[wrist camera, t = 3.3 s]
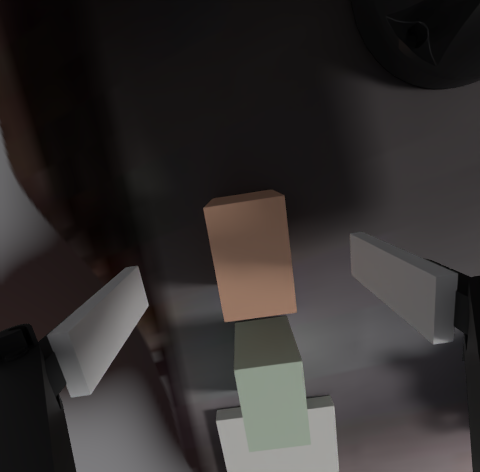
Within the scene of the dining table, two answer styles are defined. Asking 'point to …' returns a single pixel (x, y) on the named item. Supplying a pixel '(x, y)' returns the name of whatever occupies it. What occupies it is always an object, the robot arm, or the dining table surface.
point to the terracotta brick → (251, 254)
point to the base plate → (284, 459)
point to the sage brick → (270, 384)
